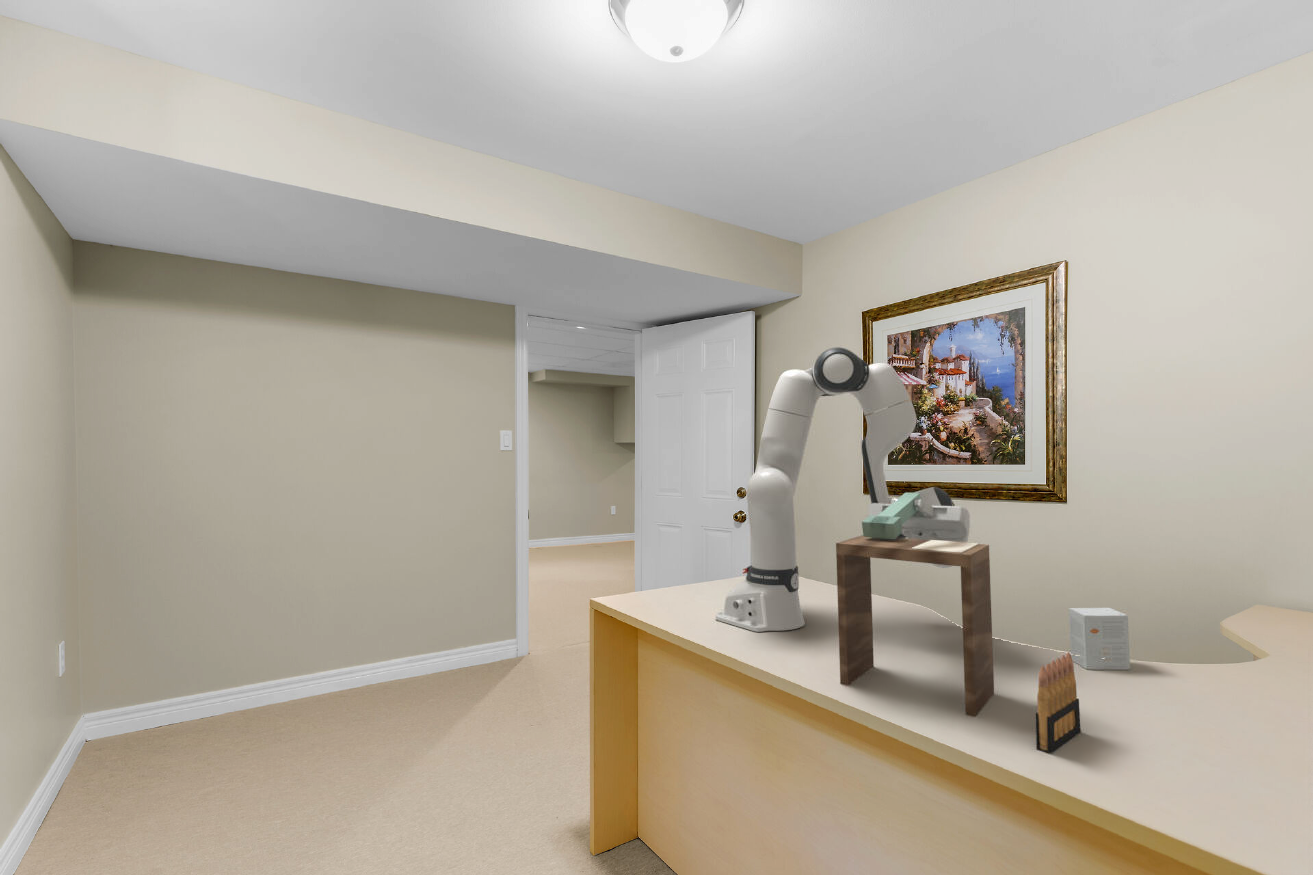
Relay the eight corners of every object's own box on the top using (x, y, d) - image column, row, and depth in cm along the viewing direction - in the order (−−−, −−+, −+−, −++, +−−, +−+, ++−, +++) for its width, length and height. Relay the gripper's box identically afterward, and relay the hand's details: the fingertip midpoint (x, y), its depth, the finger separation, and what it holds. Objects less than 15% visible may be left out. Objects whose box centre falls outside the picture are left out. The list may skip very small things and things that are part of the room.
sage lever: (863, 536, 118) (861, 521, 118) (900, 505, 133) (898, 492, 133) (894, 539, 114) (893, 523, 114) (929, 506, 129) (927, 493, 129)
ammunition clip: (1050, 754, 87) (1047, 669, 87) (1035, 749, 89) (1032, 665, 89) (1081, 732, 93) (1078, 652, 93) (1067, 727, 95) (1064, 649, 95)
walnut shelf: (840, 683, 114) (835, 542, 115) (866, 665, 123) (862, 534, 124) (975, 716, 99) (970, 553, 100) (994, 693, 108) (989, 543, 109)
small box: (1112, 660, 123) (1110, 607, 123) (1131, 670, 117) (1129, 614, 117) (1069, 659, 124) (1067, 607, 124) (1086, 670, 118) (1084, 614, 118)
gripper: (882, 513, 144) (859, 487, 135) (977, 518, 131) (959, 489, 122) (877, 538, 142) (854, 513, 133) (974, 546, 128) (956, 519, 119)
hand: (905, 502), depth 127 cm, fingers closed on sage lever, 3 cm apart
